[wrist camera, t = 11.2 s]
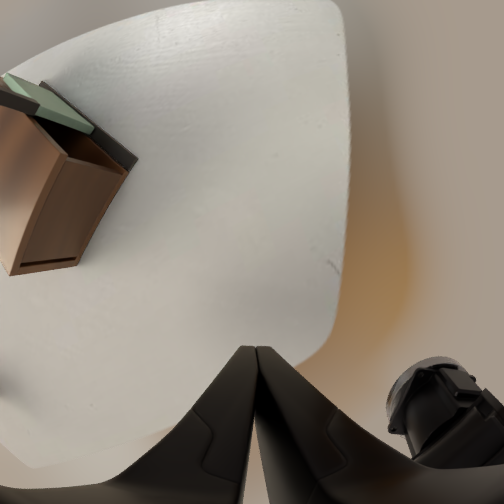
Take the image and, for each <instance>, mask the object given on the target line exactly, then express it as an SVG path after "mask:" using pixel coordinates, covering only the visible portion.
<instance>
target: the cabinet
mask: <svg viewBox="0 0 504 504" xmlns="http://www.w3.org/2000/svg"><path fill="white" fill-rule="evenodd" d="M39 86H40V87H42V88H44V89H47V90H49V91H51V92H53V93H54V94H55V95H56V96H57V97H59V98H60V99H61V100H62V101H63V102H65V103H66V104H67V105H68V106H69V107H71V108H72V109H73V110H74V111H75V112H77V113H78V114H79V115H80V116H81V117H83V118H84V119H85V120H86V121H87V122H89V123H90V124H91V125H92V126H93V127H94V129H93V131H92V133H91V134H90V135H89V134H87V135H88V136H87V135H86V134H85V133H84V132H81V131H78V130H76V129H73V128H70V127H68V126H65V125H62V124H59V123H56V122H54V121H51V120H48V119H45V118H42V117H39V116H37V115H34V116H31V115H28V114H25V113H22V112H19V111H16V110H13V109H10V108H7V107H4V106H1V105H0V261H1V263H2V265H3V266H4V268H5V270H6V271H7V273H8V275H9V276H15V275H22V274H29V273H35V272H41V271H48V270H54V269H61V268H68V267H72V266H73V267H74V266H77V264H78V262H79V260H80V258H81V256H82V254H83V252H84V250H85V248H86V246H87V244H88V242H89V240H90V238H91V237H92V235H93V233H94V231H95V229H96V227H97V225H98V224H99V222H100V220H101V218H102V217H103V215H104V213H105V211H106V209H107V208H108V206H109V204H110V203H111V201H112V199H113V198H114V196H115V194H116V193H117V191H118V189H119V188H120V186H121V184H122V183H123V181H124V180H125V178H126V176H127V175H128V173H129V171H130V170H131V169H132V167H133V166H134V164H135V163H136V161H137V160H138V158H137V157H135V156H134V155H133V154H132V153H131V152H129V151H128V150H127V149H126V148H124V147H123V146H122V145H121V144H120V143H118V142H117V141H116V140H115V139H113V138H112V137H111V136H110V135H108V134H107V133H106V132H105V131H104V130H102V129H101V128H100V127H99V126H97V125H96V124H95V123H94V122H93V121H91V120H90V119H89V118H88V117H86V116H85V115H84V114H83V113H81V112H80V111H79V110H78V109H77V108H75V107H74V106H73V105H72V104H70V103H69V102H68V101H67V100H66V99H64V98H63V97H62V96H61V95H59V94H58V93H57V92H56V91H54V90H53V89H52V88H51V87H50V86H48V85H47V84H46V83H45V82H43V81H41V83H40V84H39ZM0 87H3V88H6V89H8V90H11V88H10V87H9V86H8V85H7V84H6V83H5V82H4V80H3V77H0ZM11 91H12V90H11ZM90 137H91V138H92V139H93V140H94V141H95V142H96V143H95V142H94V141H93V140H92V139H91V138H90ZM98 144H99V145H100V146H101V147H102V148H103V149H104V150H103V149H102V148H101V147H100V146H99V145H98ZM106 151H107V152H108V153H109V154H110V155H111V156H112V157H111V156H110V155H109V154H108V153H107V152H106ZM114 158H115V159H116V160H117V161H118V162H119V163H120V164H119V163H118V162H117V161H116V160H115V159H114ZM121 164H122V165H123V166H124V167H125V168H126V169H127V170H129V171H127V170H126V169H125V168H124V167H123V166H122V165H121Z"/></svg>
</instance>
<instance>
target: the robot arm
mask: <svg viewBox="0 0 504 504" xmlns="http://www.w3.org/2000/svg"><path fill="white" fill-rule="evenodd" d="M420 372H422V374H421V375H418V373H420ZM475 382H476V378H475V377H474V376H473V375H468V374H466V373H465V372H464V371H460V370H454V369H447V368H440V369H439V370H435V369H429V368H423V367H419V368H417V369H416V370H415V371H414V373H413V375H412V378H411V380H410V382H409V384H408V387H407V389H406V391H405V393H404V395H403V398H402V400H401V402H400V404H399V406H398V408H397V410H396V412H395V414H394V416H393V418H392V420H391V422H390V424H389V425H388V432H389V433H391V434H398V435H405V438H406V441H407V444H408V447H409V449H410V452H411V455H412V458H411V459H410V458H408V457H407V456H405V455H403V454H401V453H400V452H398V451H397V450H395V449H393V448H392V447H390V446H389V445H387V444H386V443H384V442H382V441H381V440H379V439H378V438H376V437H375V436H373V435H372V434H370V433H369V432H368V431H366V430H365V429H363V428H362V427H360V426H359V425H358V424H357V423H356V422H354V421H353V420H352V419H351V418H349V417H348V416H347V415H346V414H345V413H343V412H342V411H341V410H340V409H338V408H337V407H336V406H335V405H334V404H333V403H332V402H331V401H329V400H328V399H327V398H326V397H325V396H324V395H323V394H322V393H320V392H319V391H318V390H317V389H316V388H315V387H314V386H313V385H312V384H310V383H309V382H308V381H307V380H306V379H305V378H304V377H303V376H302V375H300V374H299V373H298V372H297V371H296V370H295V369H294V368H293V367H292V366H291V365H290V364H289V363H288V362H286V361H285V360H284V359H283V358H282V357H281V356H280V355H279V354H278V353H277V352H276V351H275V350H274V349H273V348H271V347H270V346H257V347H256V348H255V347H254V346H240V347H239V348H238V350H237V351H236V352H235V353H234V355H233V356H232V357H231V359H230V360H229V361H228V362H227V364H226V365H225V366H224V368H223V369H222V370H221V371H220V373H219V374H218V375H217V376H216V378H215V379H214V380H213V382H212V383H211V384H210V385H209V387H208V388H207V389H206V390H205V392H204V393H203V394H202V395H201V397H200V398H199V399H198V400H197V401H196V403H195V404H194V405H193V406H192V408H191V409H190V410H189V411H188V412H187V413H186V415H185V416H184V417H183V418H182V419H181V421H180V422H179V423H178V424H177V425H176V426H175V427H174V428H173V429H172V430H171V431H170V432H169V433H168V434H167V435H166V436H165V437H164V438H163V439H162V440H161V441H160V442H158V443H157V444H156V445H155V446H154V447H152V448H151V449H150V450H149V451H148V452H147V453H145V454H144V455H143V456H142V457H141V458H139V459H138V460H137V461H136V462H134V463H133V464H132V465H131V466H129V467H128V468H127V469H126V470H124V471H123V472H122V473H120V474H119V475H117V476H115V477H114V478H112V479H110V480H108V481H105V482H102V483H98V484H91V485H83V486H73V487H62V488H45V489H17V488H10V487H5V486H1V485H0V504H243V497H244V490H245V483H246V476H247V468H248V461H249V453H250V446H251V439H252V431H253V423H254V420H255V427H256V432H257V438H258V443H259V449H260V455H261V460H262V466H263V471H264V476H265V482H266V487H267V492H268V497H269V503H270V504H504V406H503V405H502V404H501V403H500V402H499V401H498V400H497V399H496V398H495V397H494V396H493V395H492V394H491V393H490V392H489V391H488V390H487V389H486V388H485V389H484V390H483V391H482V390H481V389H480V388H479V387H478V386H477V384H476V383H475ZM393 427H395V428H394V429H392V428H393Z"/></svg>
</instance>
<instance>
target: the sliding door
mask: <svg viewBox="0 0 504 504" xmlns="http://www.w3.org/2000/svg"><path fill="white" fill-rule="evenodd" d="M3 80H4V82H5V83H6V84H7V85H8V86H9V87H10V88H11V90H12V91H11V90H8V89H6V88H3V87H0V105H1V106H4V107H7V108H10V109H13V110H16V111H19V112H22V113H25V114H28V115H31V116H34V115H37V116H39V117H42V118H45V119H48V120H51V121H54V122H56V123H59V124H62V125H65V126H68V127H70V128H73V129H76V130H78V131H81V132H84V133H86V134H89V135H90V134H91V133H92V131H93V129H94V127H93V126H92V125H91V124H90V123H89V122H87V121H86V120H85V119H84V118H83V117H81V116H80V115H79V114H78V113H77V112H75V111H74V110H73V109H72V108H71V107H69V106H68V105H67V104H66V103H65V102H63V101H62V100H61V99H60V98H59V97H57V96H56V95H55V94H54V93H53V92H51V91H49V90H47V89H44V88H42V87H40V86H38V85H35V84H33V83H31V82H28V81H26V80H24V79H21V78H19V77H16V76H14V75H12V74H9V73H6V75H5V77H4V78H3Z"/></svg>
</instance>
